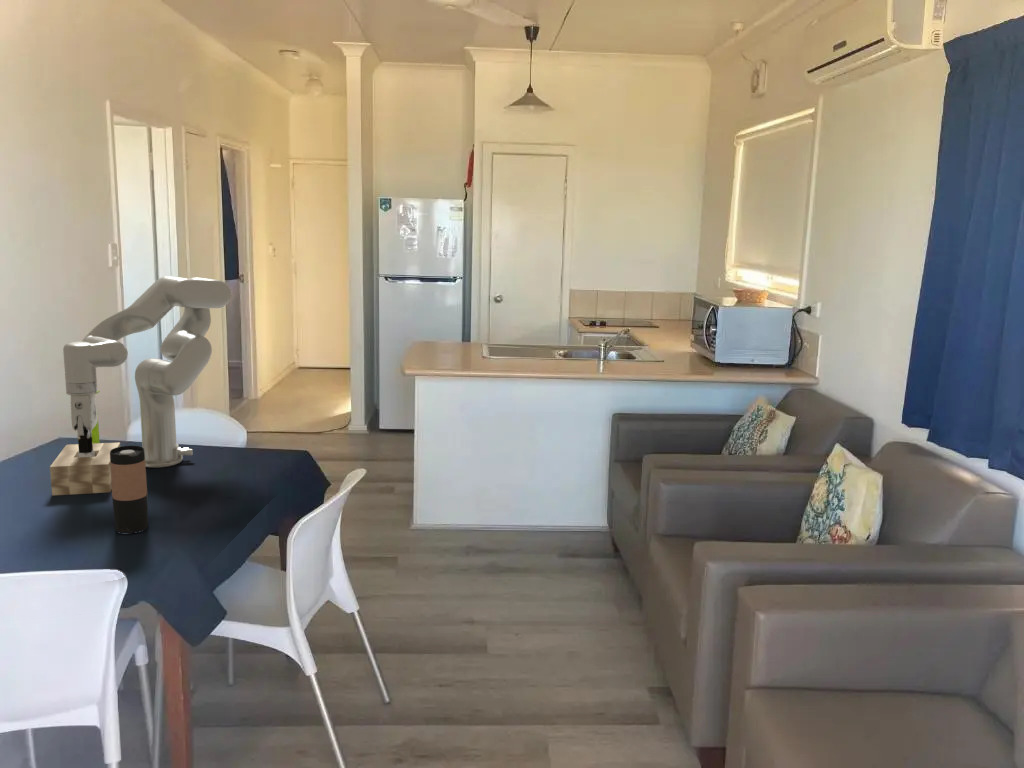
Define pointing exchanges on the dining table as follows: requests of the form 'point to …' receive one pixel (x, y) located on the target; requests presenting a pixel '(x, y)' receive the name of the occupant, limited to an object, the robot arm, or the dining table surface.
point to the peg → (87, 454)
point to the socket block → (82, 470)
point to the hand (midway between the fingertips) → (85, 451)
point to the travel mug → (129, 488)
